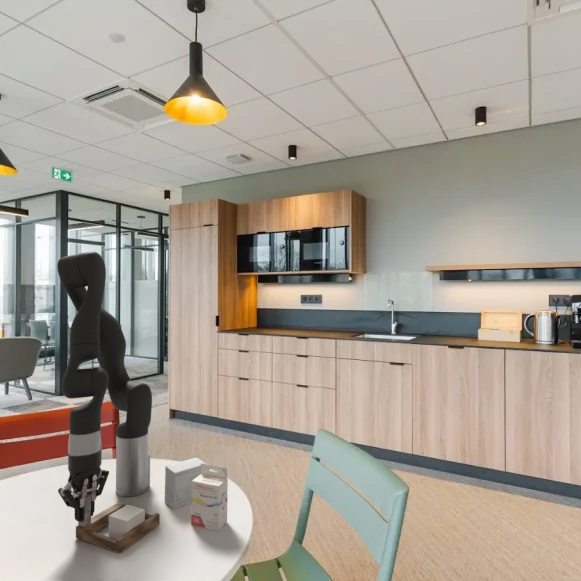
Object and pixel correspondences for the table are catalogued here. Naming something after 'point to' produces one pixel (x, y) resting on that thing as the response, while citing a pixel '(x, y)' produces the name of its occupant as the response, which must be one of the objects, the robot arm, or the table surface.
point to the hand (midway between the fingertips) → (84, 518)
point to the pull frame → (99, 521)
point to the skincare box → (181, 481)
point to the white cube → (125, 520)
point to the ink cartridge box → (209, 498)
